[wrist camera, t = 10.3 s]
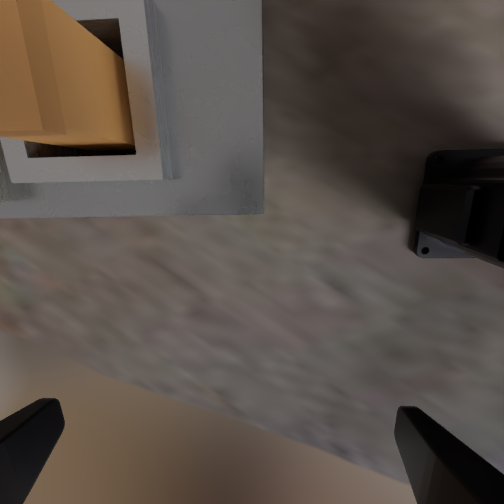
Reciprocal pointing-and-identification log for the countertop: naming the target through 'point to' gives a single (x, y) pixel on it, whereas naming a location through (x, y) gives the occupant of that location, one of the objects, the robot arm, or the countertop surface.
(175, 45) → the grey socket base
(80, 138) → the wedge pin
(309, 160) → the countertop surface
